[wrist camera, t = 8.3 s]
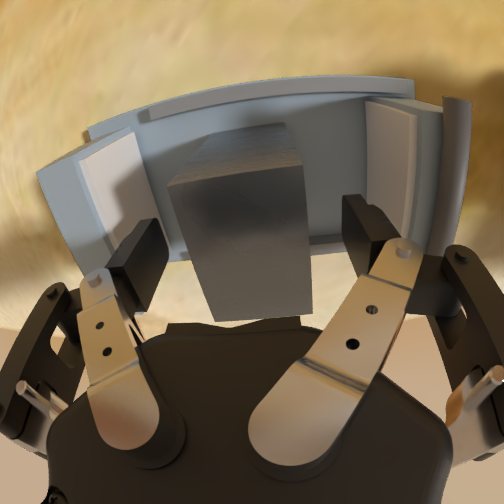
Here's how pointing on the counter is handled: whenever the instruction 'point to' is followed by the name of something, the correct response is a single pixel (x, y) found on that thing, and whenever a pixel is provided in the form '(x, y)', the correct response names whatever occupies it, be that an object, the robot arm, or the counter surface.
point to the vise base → (189, 141)
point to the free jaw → (419, 166)
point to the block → (247, 223)
